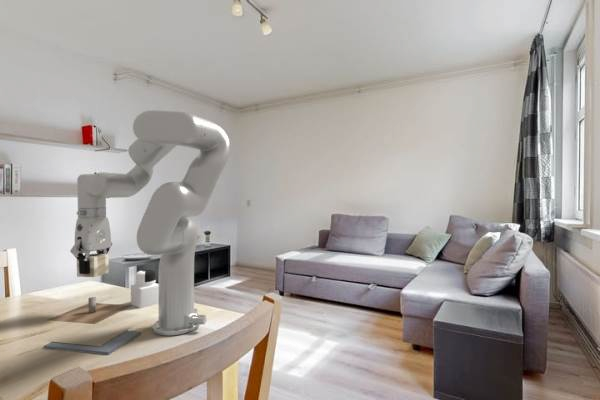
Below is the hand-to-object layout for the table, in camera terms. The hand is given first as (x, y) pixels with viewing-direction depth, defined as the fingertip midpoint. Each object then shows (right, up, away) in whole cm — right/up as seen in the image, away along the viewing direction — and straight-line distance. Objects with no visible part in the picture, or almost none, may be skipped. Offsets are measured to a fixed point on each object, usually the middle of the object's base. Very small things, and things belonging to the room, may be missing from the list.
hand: (93, 270), depth 104 cm
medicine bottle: (+12, -14, +9) cm, 21 cm away
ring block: (0, -1, 0) cm, 1 cm away
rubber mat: (+12, -14, -18) cm, 26 cm away
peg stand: (-1, -14, 0) cm, 14 cm away
